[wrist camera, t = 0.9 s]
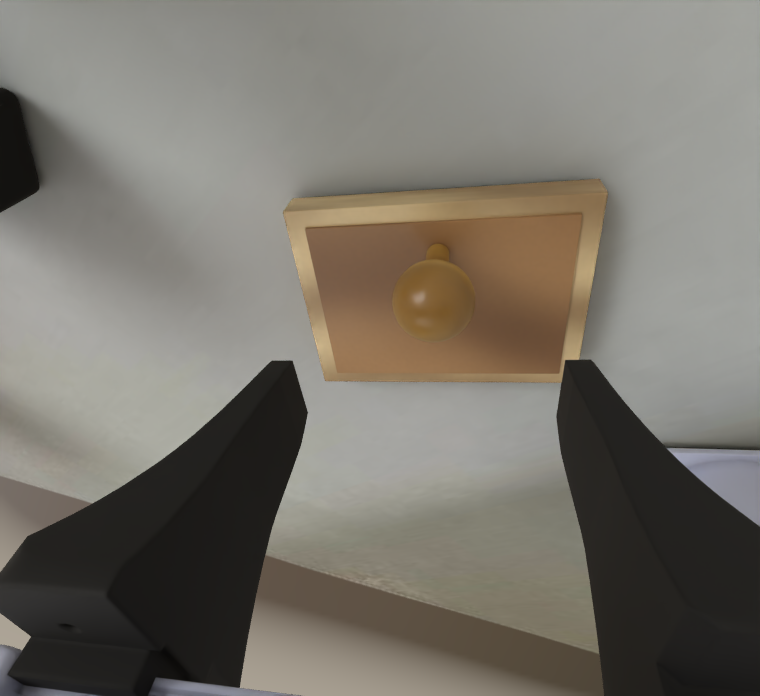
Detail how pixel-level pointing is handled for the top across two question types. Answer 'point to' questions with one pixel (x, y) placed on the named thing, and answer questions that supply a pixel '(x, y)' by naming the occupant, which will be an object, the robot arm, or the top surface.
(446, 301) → the wooden knob panel
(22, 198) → the battery
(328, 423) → the top surface
